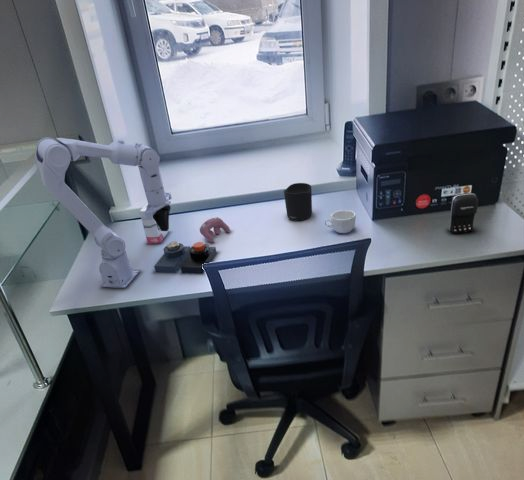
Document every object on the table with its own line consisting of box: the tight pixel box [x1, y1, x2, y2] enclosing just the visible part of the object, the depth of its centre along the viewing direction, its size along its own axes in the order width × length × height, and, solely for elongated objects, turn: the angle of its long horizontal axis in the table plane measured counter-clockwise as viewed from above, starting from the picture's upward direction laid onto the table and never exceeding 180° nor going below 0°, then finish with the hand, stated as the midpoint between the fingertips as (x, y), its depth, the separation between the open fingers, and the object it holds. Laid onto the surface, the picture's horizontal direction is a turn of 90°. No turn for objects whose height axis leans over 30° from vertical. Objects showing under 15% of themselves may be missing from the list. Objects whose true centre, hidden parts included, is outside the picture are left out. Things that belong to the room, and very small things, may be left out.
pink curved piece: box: [199, 216, 231, 243], centre depth 170 cm, size 10×5×7 cm, turn 141°
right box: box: [179, 243, 218, 275], centre depth 157 cm, size 13×7×4 cm, turn 164°
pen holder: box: [283, 182, 313, 222], centre depth 172 cm, size 9×9×10 cm
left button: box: [166, 241, 179, 251], centre depth 159 cm, size 4×4×2 cm
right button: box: [192, 241, 205, 252], centre depth 157 cm, size 4×4×2 cm
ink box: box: [139, 202, 169, 245], centre depth 172 cm, size 9×5×12 cm, turn 168°
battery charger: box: [448, 192, 479, 234], centre depth 149 cm, size 7×4×11 cm, turn 90°
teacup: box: [324, 209, 357, 234], centre depth 161 cm, size 10×8×5 cm
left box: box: [153, 242, 191, 274], centre depth 159 cm, size 13×7×4 cm, turn 164°
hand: (165, 230), depth 157 cm, fingers closed
